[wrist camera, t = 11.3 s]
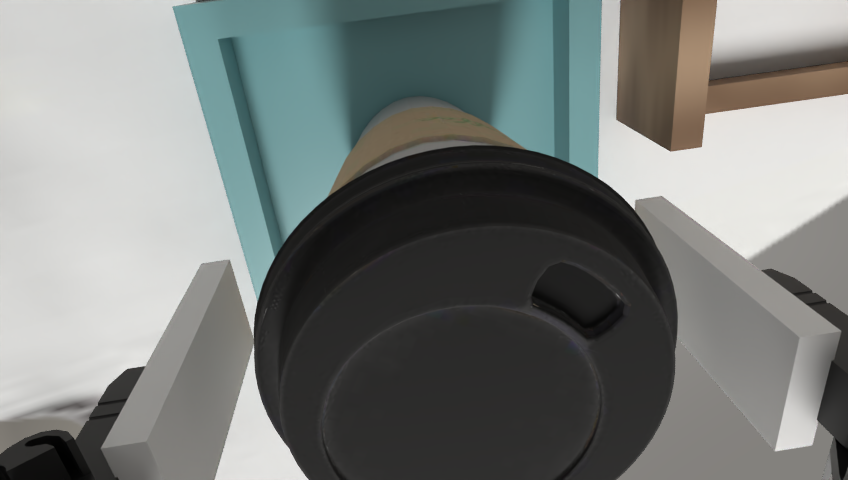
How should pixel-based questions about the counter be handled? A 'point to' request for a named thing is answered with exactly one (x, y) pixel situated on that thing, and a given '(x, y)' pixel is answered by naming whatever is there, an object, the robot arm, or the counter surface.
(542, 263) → the coffee cup
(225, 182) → the tray
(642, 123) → the holder
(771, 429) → the robot arm
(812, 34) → the counter surface
